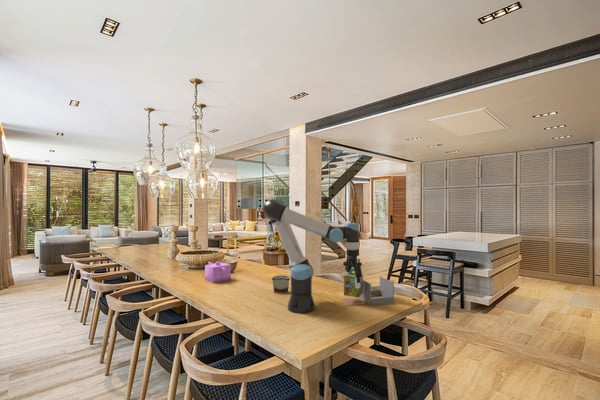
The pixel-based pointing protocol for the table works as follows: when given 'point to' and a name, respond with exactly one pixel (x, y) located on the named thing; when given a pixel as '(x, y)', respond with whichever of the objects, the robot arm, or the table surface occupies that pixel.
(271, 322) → the table surface
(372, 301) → the grey open holder
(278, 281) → the food container
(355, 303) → the mat
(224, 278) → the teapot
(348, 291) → the green juice carton
